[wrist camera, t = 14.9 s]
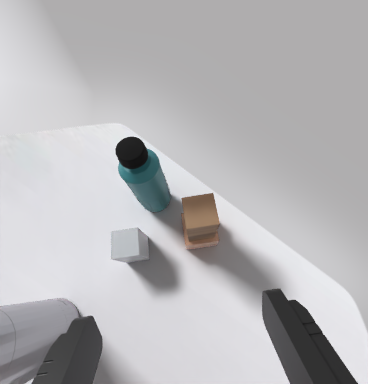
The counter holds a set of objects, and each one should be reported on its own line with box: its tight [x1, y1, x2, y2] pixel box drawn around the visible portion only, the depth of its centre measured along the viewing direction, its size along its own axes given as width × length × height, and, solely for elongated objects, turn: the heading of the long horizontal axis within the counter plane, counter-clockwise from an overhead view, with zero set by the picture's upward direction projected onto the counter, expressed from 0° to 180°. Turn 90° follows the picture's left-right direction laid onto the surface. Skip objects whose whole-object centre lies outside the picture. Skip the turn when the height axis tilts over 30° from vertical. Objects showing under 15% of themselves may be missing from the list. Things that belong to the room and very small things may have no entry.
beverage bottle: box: [116, 137, 171, 212], centre depth 36 cm, size 6×7×20 cm
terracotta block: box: [181, 213, 219, 250], centre depth 40 cm, size 6×6×5 cm
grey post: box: [111, 228, 149, 263], centre depth 38 cm, size 4×4×8 cm
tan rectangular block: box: [182, 193, 220, 242], centre depth 33 cm, size 4×4×10 cm
